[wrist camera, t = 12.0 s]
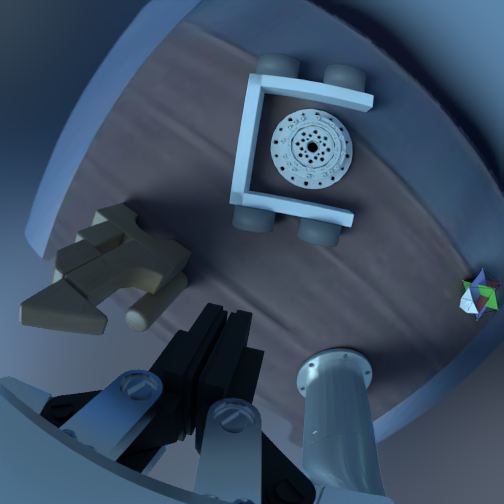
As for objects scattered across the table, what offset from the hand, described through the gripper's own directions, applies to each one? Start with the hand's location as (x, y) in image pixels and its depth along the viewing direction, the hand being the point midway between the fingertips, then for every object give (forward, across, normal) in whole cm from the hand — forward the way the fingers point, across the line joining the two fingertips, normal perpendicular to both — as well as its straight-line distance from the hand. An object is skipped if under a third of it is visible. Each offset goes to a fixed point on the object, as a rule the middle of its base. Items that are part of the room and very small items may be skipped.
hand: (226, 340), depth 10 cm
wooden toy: (+27, +18, +8) cm, 34 cm away
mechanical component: (+28, -2, -9) cm, 29 cm away
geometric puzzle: (+27, -32, +4) cm, 42 cm away
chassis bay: (+27, -2, -9) cm, 29 cm away
